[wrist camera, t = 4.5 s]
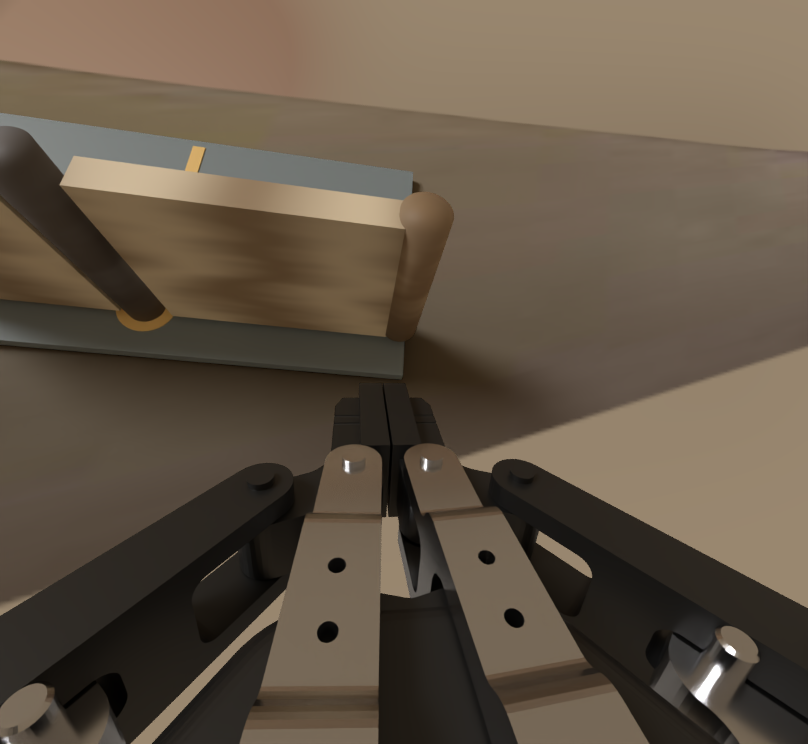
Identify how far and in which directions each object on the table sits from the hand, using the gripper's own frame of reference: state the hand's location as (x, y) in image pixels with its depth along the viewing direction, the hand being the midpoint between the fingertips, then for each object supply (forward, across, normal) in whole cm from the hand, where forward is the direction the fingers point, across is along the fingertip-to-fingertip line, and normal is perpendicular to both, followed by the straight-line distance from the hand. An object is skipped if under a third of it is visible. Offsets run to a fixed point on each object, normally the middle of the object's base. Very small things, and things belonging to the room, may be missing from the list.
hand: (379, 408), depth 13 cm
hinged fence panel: (+8, +4, 0) cm, 9 cm away
